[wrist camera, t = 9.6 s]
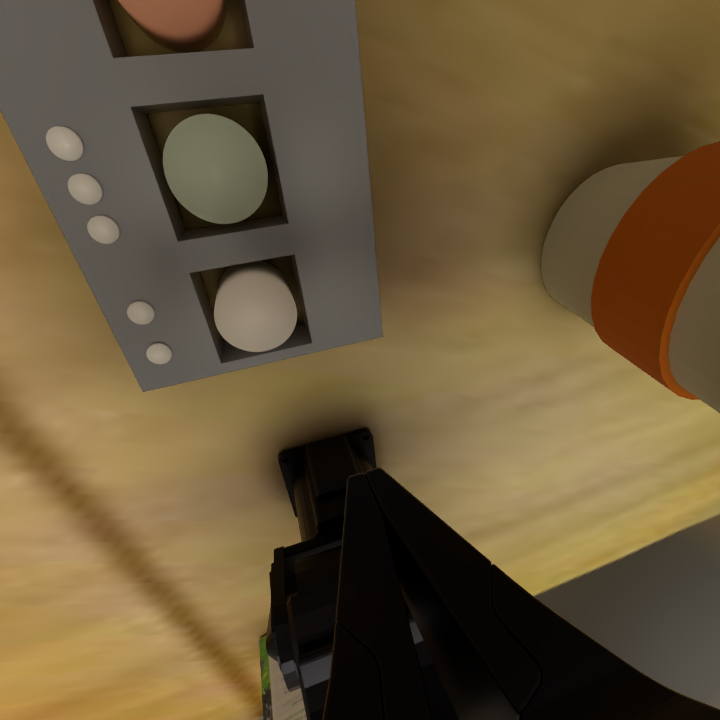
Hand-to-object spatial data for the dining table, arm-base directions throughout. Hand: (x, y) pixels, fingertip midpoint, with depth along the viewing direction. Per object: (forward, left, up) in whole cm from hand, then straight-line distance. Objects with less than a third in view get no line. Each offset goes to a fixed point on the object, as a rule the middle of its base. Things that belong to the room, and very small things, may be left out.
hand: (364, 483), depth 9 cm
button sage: (+7, +2, -14) cm, 16 cm away
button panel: (+7, +2, -13) cm, 15 cm away
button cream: (+1, +2, -14) cm, 14 cm away
